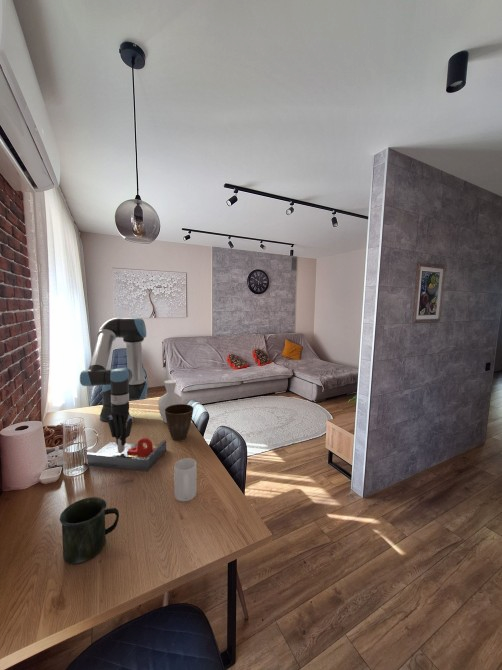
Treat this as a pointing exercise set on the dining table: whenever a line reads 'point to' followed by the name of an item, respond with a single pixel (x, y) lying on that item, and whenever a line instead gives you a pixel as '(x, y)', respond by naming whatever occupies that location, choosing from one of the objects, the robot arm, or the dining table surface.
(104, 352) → the robot arm
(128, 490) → the dining table surface
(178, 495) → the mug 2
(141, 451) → the bracket
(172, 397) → the vase
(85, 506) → the mug
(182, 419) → the plant pot
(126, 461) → the tray
